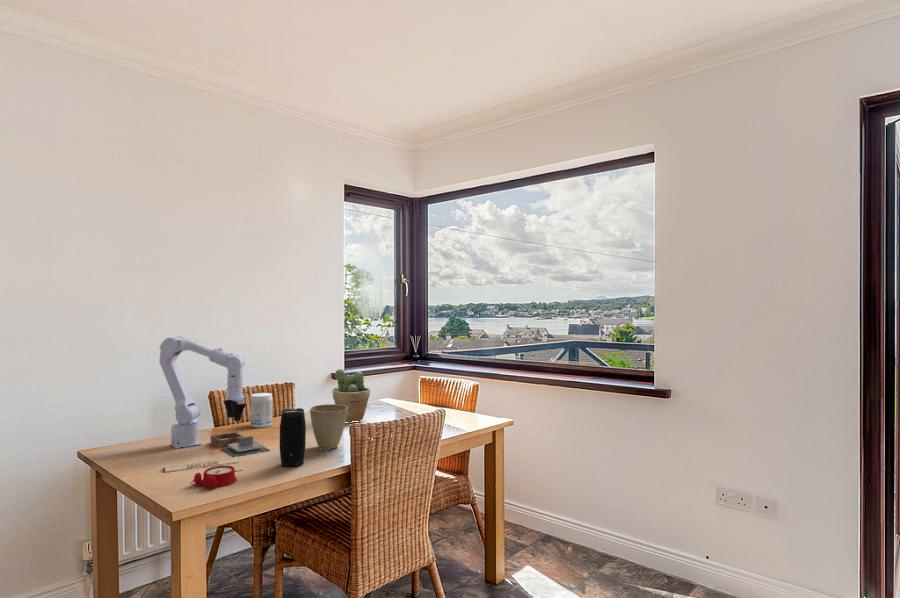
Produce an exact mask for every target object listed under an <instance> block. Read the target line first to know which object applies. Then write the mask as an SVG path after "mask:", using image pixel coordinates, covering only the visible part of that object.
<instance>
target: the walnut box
mask: <svg viewBox="0 0 900 598" xmlns="http://www.w3.org/2000/svg"><path fill="white" fill-rule="evenodd" d="M240 437H245V436H244V435H242V434H240V433H239V432H236V431H235V432H234V431H233V432H228V433H227V432H226V433H221V434H219V433H218V434H213V435H210V443H211V444H212V443H213V444H214V446H215V445H216V446H215V447H216V448H218V447H219V448H218V449H221V447H223V448H225V447H226V446H227V444H232V443H238V438H240ZM213 444H212V445H213Z"/></svg>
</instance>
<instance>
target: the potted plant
mask: <svg viewBox="0 0 900 598" xmlns="http://www.w3.org/2000/svg"><path fill="white" fill-rule="evenodd" d="M335 377H336V380H337V387H335V388H333V389H332V398H333V400H334V404H336V405H344V406H347V407H348V410H347V416H346V421H345V422H352V421H360V420H362V419H363V420H364V416H365V413H366V410H367V407H368V402H369V399H370V397H371V396H370V395H371V388H369V387H365V386H366V385H365V381H364V379H365V376H364V373H363V372H362V371H356V372H354V373H353V374H346V373H345V370H344V369H343V368H342V369H341V368H340V369H339V368H338V369H337V370H336V371H335Z"/></svg>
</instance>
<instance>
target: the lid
mask: <svg viewBox="0 0 900 598" xmlns="http://www.w3.org/2000/svg"><path fill="white" fill-rule="evenodd" d="M227 446H228V447H229V448H231V449H233V450H234V451H236V452H245V451H251V450H256V449H258V448H263V447H265V445H264V444H263V443H260V442H259V441H256V440H255V439H254V436H252V435H247V436H244V437H240V438H238V443H232V444H227Z"/></svg>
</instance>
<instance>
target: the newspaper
mask: <svg viewBox="0 0 900 598" xmlns="http://www.w3.org/2000/svg"><path fill="white" fill-rule="evenodd" d="M238 462H239V463H240V460H239V458H238V457H233V456H232V457H227V458H226V457H225V458H219V459H211V460H203V461H196V462H188V463H180V464H173V465H164V467H165V468H164V469H165V471H164V472H166V473H172V472H171V471H174V472H179V471H178V470H181V471H185V470H184V469H189V470H193V469H192V468H196V469H200V468H199V467H203V468H209V467H208V466H211V467H216V465H218V466H224V465H223V464H226V465H230V463H233V464H238Z"/></svg>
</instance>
